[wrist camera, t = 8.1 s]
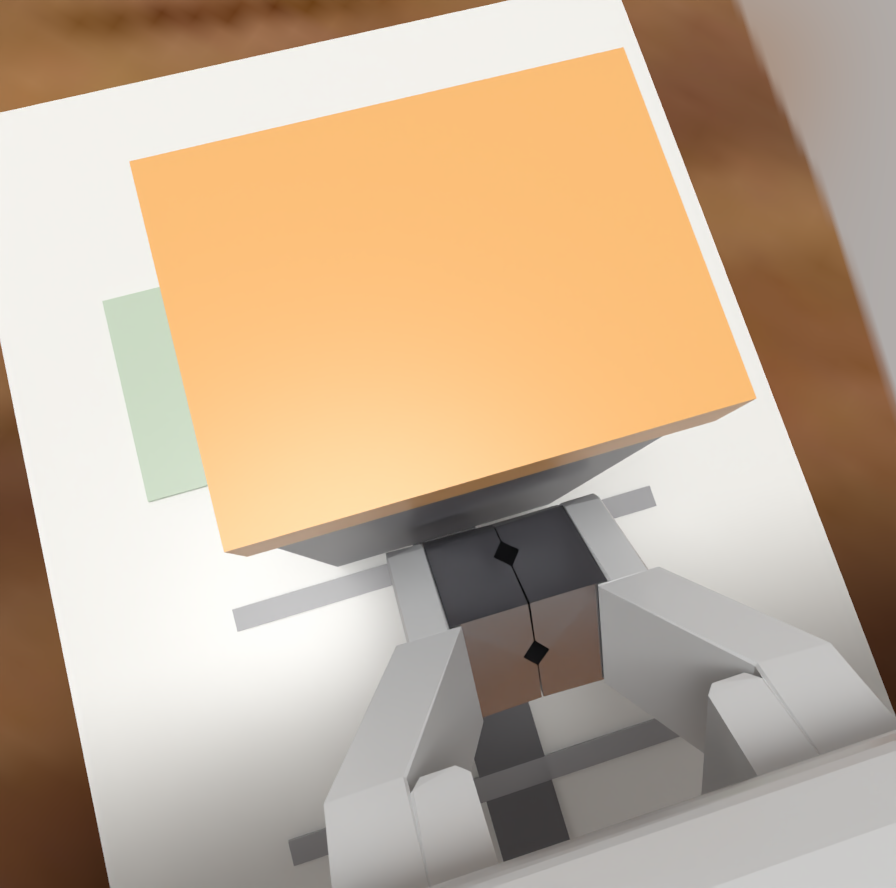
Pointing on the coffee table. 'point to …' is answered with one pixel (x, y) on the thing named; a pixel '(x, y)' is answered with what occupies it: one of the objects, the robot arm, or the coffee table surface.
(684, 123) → the coffee table surface
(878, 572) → the coffee table surface
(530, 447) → the fader knob
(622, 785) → the console
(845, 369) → the coffee table surface
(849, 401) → the coffee table surface
